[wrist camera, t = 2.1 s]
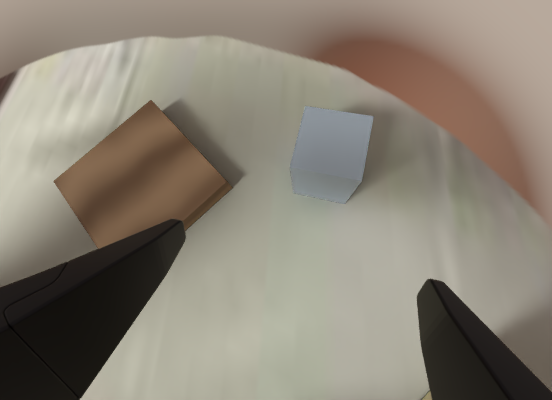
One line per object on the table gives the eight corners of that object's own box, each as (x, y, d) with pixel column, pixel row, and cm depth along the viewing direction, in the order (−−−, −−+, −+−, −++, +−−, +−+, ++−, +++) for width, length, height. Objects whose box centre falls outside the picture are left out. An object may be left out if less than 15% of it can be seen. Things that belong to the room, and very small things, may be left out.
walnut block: (232, 187, 25) (226, 181, 23) (133, 277, 23) (118, 279, 22) (161, 110, 28) (151, 99, 26) (71, 186, 27) (53, 181, 25)
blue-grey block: (344, 203, 23) (361, 181, 16) (293, 193, 24) (289, 167, 17) (353, 156, 24) (373, 116, 17) (304, 147, 25) (305, 105, 18)
